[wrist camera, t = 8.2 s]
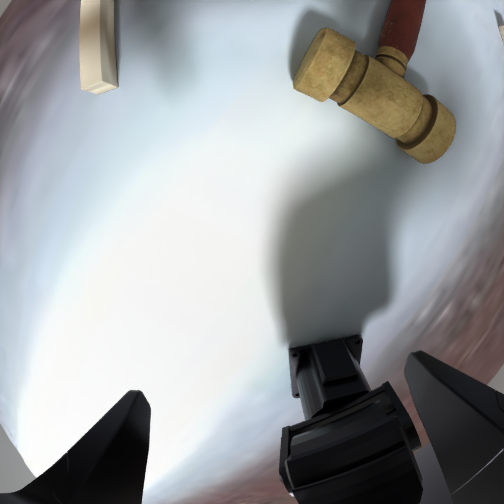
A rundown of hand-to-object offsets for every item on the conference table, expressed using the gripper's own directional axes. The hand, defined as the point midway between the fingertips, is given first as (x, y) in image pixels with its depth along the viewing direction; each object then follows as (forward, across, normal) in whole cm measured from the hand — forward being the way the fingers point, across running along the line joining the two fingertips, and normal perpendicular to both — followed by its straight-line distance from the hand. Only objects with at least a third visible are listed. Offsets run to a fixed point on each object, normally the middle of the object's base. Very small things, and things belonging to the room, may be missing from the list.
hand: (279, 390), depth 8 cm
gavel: (+13, -13, -17) cm, 25 cm away
